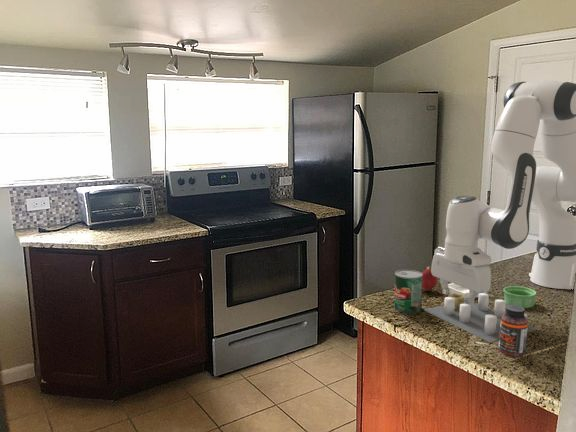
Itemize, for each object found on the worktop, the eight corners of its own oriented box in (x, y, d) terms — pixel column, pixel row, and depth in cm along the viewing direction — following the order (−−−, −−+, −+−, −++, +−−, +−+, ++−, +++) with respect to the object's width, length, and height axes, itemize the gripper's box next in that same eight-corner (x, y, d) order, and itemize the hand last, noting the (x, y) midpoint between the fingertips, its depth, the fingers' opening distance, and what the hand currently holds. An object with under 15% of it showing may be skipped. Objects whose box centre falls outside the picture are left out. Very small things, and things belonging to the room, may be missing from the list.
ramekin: (535, 312, 150) (536, 297, 149) (501, 307, 153) (502, 293, 153) (535, 302, 158) (536, 288, 157) (503, 298, 161) (504, 284, 161)
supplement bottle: (494, 352, 124) (497, 307, 122) (504, 345, 128) (507, 301, 126) (519, 360, 120) (523, 314, 118) (529, 352, 124) (533, 307, 122)
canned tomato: (425, 308, 154) (426, 272, 152) (415, 316, 147) (417, 279, 145) (400, 302, 158) (401, 268, 156) (389, 311, 152) (390, 274, 150)
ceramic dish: (464, 288, 171) (464, 280, 170) (486, 296, 162) (486, 288, 162) (442, 292, 167) (443, 285, 166) (463, 301, 159) (464, 293, 158)
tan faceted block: (456, 303, 155) (456, 292, 155) (466, 308, 152) (467, 296, 151) (444, 306, 153) (445, 295, 153) (454, 310, 150) (455, 299, 149)
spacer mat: (466, 301, 158) (467, 286, 158) (536, 330, 136) (538, 313, 135) (422, 310, 151) (423, 294, 150) (489, 343, 129) (490, 325, 128)
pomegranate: (437, 294, 165) (438, 270, 163) (418, 293, 166) (419, 269, 165) (436, 288, 170) (437, 265, 169) (417, 287, 172) (418, 264, 170)
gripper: (427, 246, 157) (425, 290, 159) (479, 262, 139) (476, 311, 141) (443, 244, 159) (441, 287, 162) (496, 259, 141) (492, 307, 144)
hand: (457, 298), depth 151 cm, fingers open, 8 cm apart
